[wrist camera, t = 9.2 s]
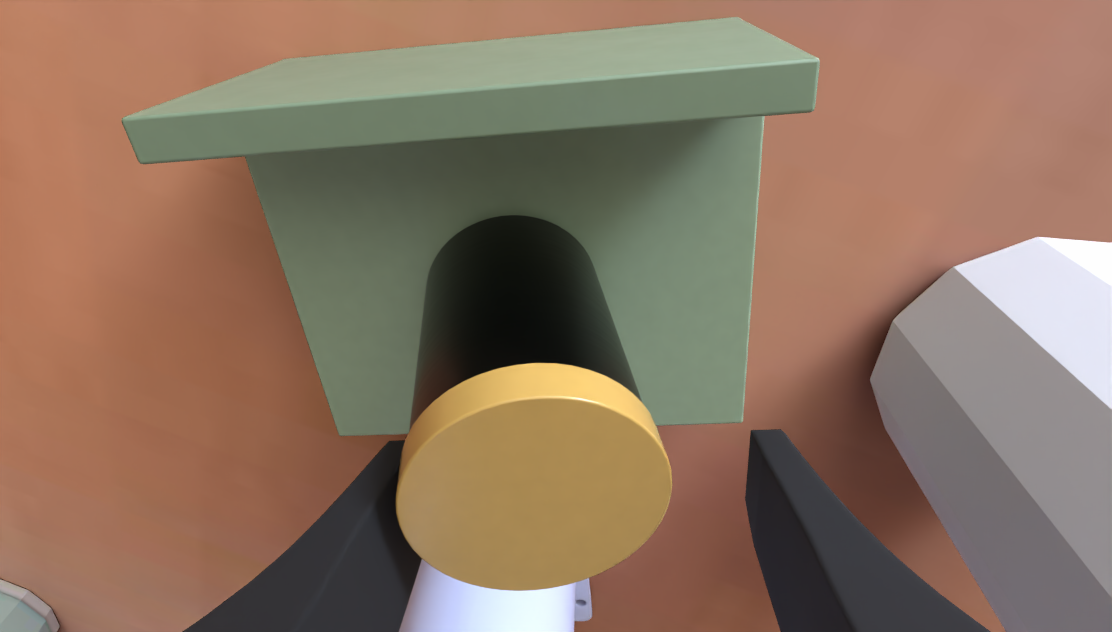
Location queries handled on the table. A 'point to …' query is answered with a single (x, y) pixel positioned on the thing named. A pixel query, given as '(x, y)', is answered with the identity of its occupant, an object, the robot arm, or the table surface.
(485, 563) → the canister
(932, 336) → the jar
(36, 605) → the disposable coffee cup
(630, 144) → the shelf
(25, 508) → the table surface
